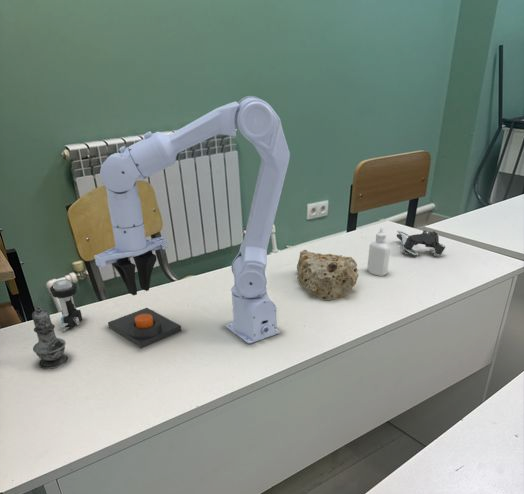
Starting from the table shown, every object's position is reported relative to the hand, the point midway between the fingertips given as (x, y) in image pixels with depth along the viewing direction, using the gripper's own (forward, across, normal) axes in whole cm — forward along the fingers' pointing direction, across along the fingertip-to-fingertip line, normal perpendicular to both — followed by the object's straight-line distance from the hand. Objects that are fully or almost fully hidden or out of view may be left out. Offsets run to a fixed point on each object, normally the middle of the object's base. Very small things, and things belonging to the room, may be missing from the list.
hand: (138, 291), depth 95 cm
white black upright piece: (+11, +9, -16) cm, 21 cm away
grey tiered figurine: (+11, +18, -5) cm, 21 cm away
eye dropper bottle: (+11, -63, +15) cm, 66 cm away
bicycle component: (+11, -86, +14) cm, 88 cm away
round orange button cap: (+8, 0, 0) cm, 8 cm away
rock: (+11, -47, +11) cm, 50 cm away
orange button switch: (+10, -2, -3) cm, 11 cm away
